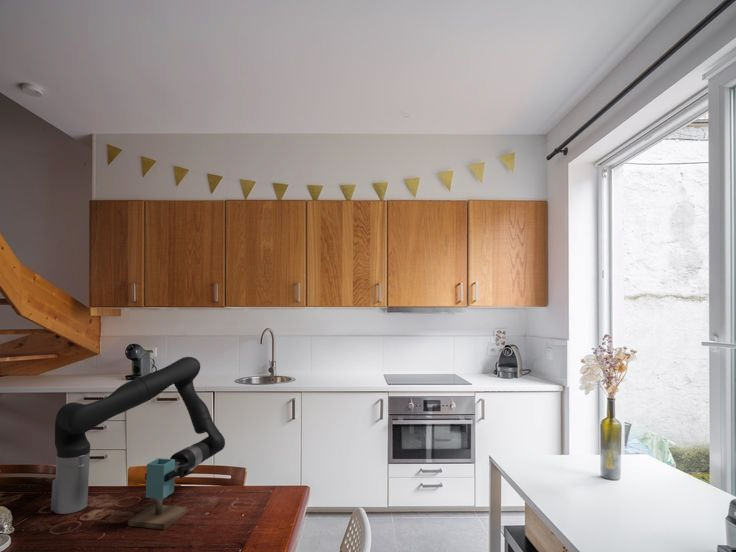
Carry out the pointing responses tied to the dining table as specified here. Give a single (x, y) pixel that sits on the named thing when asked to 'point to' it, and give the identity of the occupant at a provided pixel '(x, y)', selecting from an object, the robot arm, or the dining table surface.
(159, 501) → the steel post
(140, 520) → the walnut base plate
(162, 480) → the teal sleeve
